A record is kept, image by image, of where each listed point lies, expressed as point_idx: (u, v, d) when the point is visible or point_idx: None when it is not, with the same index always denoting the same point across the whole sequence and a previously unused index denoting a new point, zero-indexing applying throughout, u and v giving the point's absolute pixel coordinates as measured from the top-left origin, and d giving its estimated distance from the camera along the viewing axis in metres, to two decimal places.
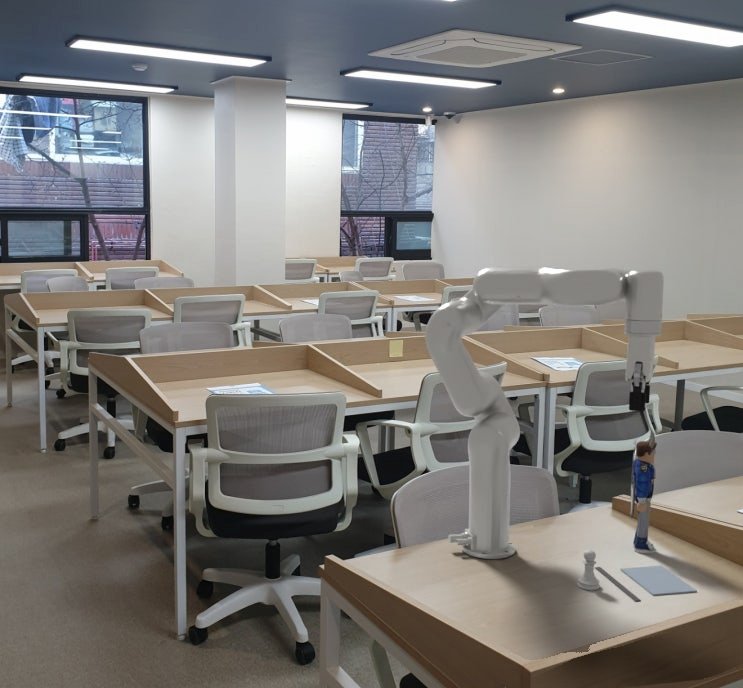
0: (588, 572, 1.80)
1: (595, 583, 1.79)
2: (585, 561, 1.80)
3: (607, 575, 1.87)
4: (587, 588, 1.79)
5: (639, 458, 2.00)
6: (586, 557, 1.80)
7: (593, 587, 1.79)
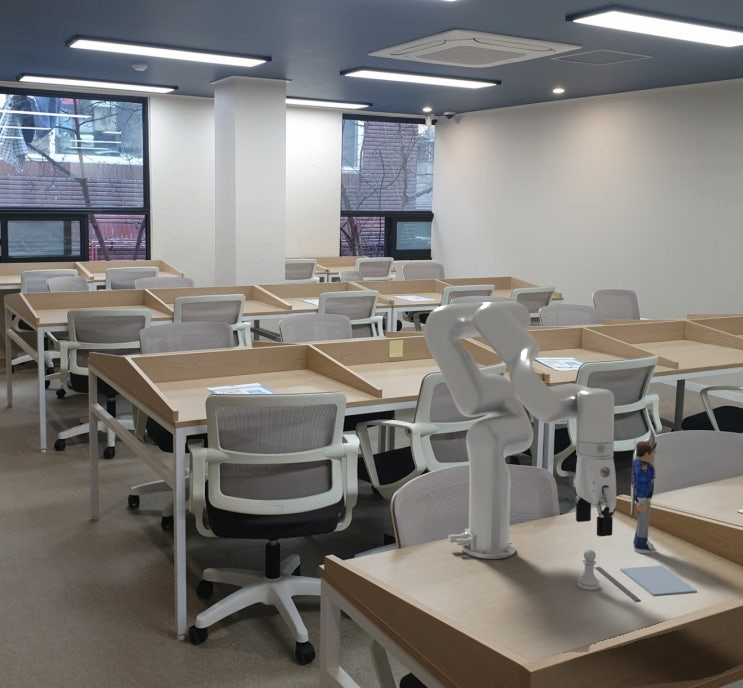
0: (588, 572, 1.80)
1: (595, 583, 1.79)
2: (585, 561, 1.80)
3: (607, 575, 1.87)
4: (587, 588, 1.79)
5: (639, 458, 2.00)
6: (586, 557, 1.80)
7: (593, 587, 1.79)
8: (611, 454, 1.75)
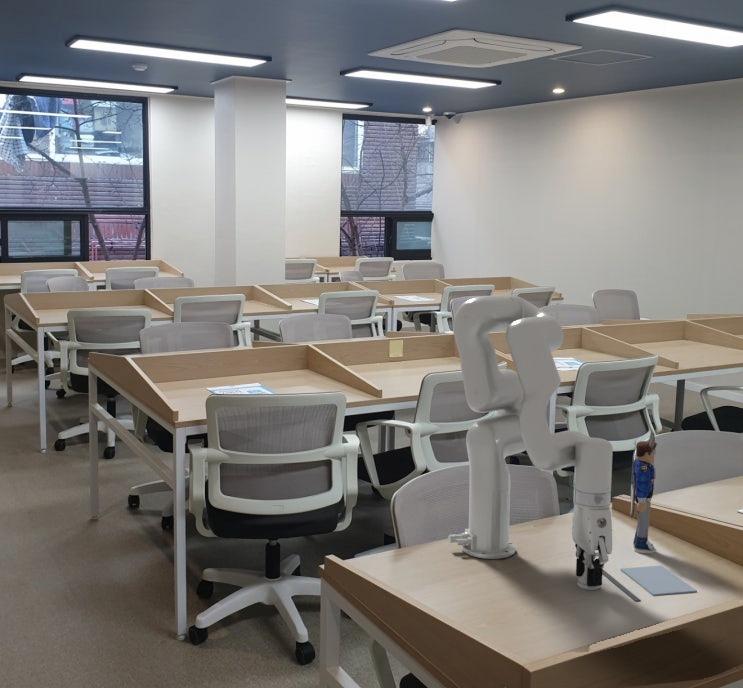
0: None
1: None
2: (585, 561, 1.80)
3: (607, 575, 1.87)
4: (587, 588, 1.79)
5: (639, 458, 2.00)
6: (586, 557, 1.80)
7: (593, 587, 1.79)
8: (608, 504, 1.77)
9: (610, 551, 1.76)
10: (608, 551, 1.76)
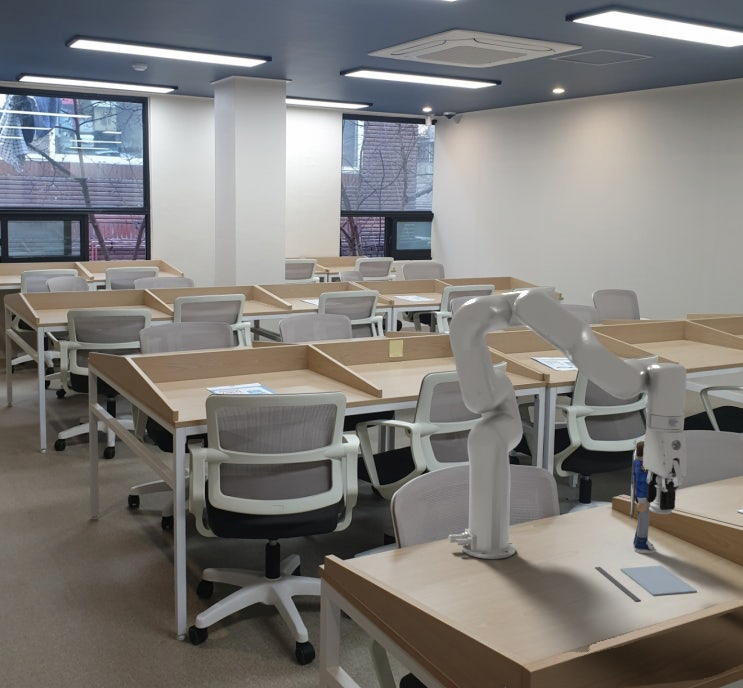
0: None
1: None
2: (657, 485, 1.82)
3: (607, 575, 1.87)
4: (660, 512, 1.80)
5: (639, 458, 2.00)
6: (659, 481, 1.81)
7: (666, 511, 1.80)
8: (682, 428, 1.78)
9: (684, 474, 1.77)
10: (682, 474, 1.77)
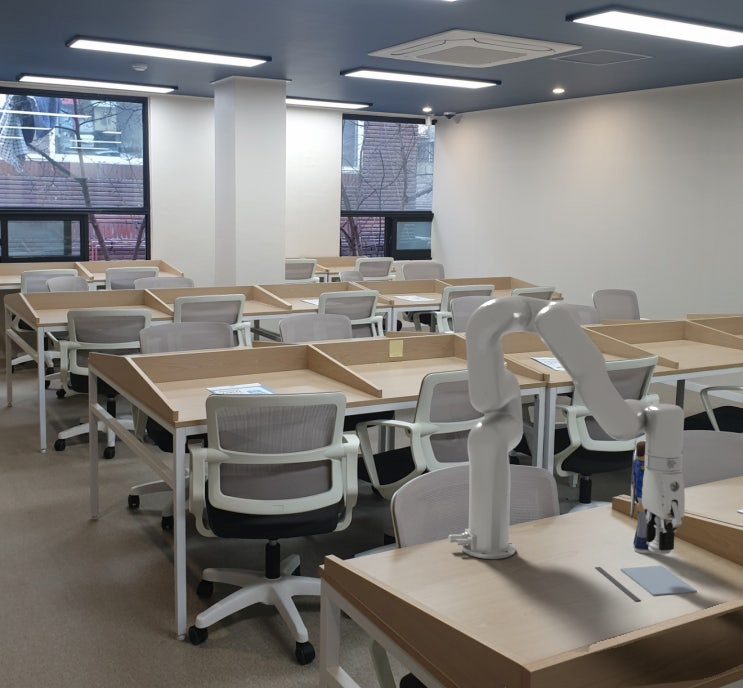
0: None
1: None
2: (656, 526, 1.83)
3: (607, 575, 1.87)
4: (659, 552, 1.81)
5: (639, 458, 2.00)
6: (658, 521, 1.82)
7: (665, 551, 1.81)
8: (680, 469, 1.79)
9: (683, 515, 1.78)
10: (681, 515, 1.78)
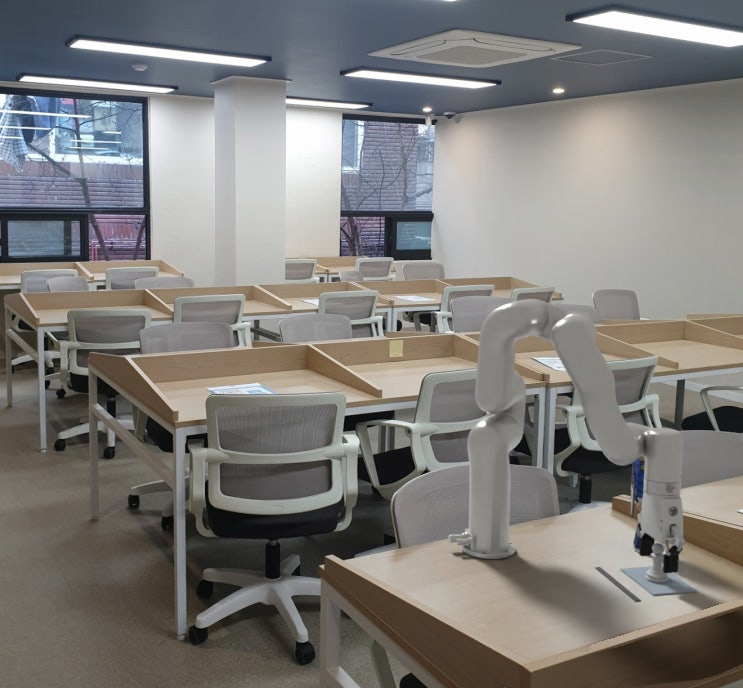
0: (656, 565, 1.83)
1: (664, 576, 1.83)
2: (653, 554, 1.84)
3: (607, 575, 1.87)
4: (656, 581, 1.82)
5: (639, 458, 2.00)
6: (655, 550, 1.83)
7: (662, 580, 1.82)
8: (679, 493, 1.80)
9: None
10: None
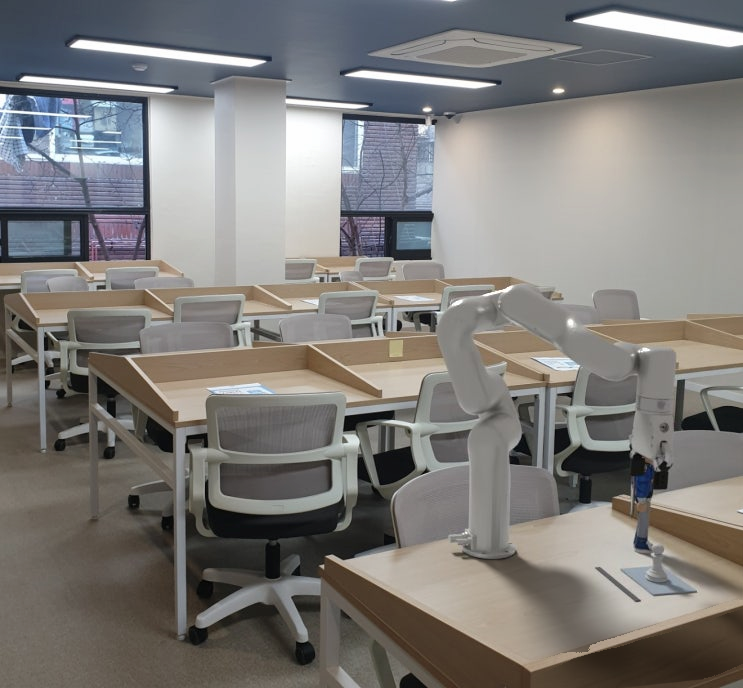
0: (656, 565, 1.83)
1: (664, 576, 1.83)
2: (653, 554, 1.84)
3: (607, 575, 1.87)
4: (656, 581, 1.82)
5: None
6: (655, 550, 1.83)
7: (662, 580, 1.82)
8: (670, 411, 1.79)
9: None
10: None
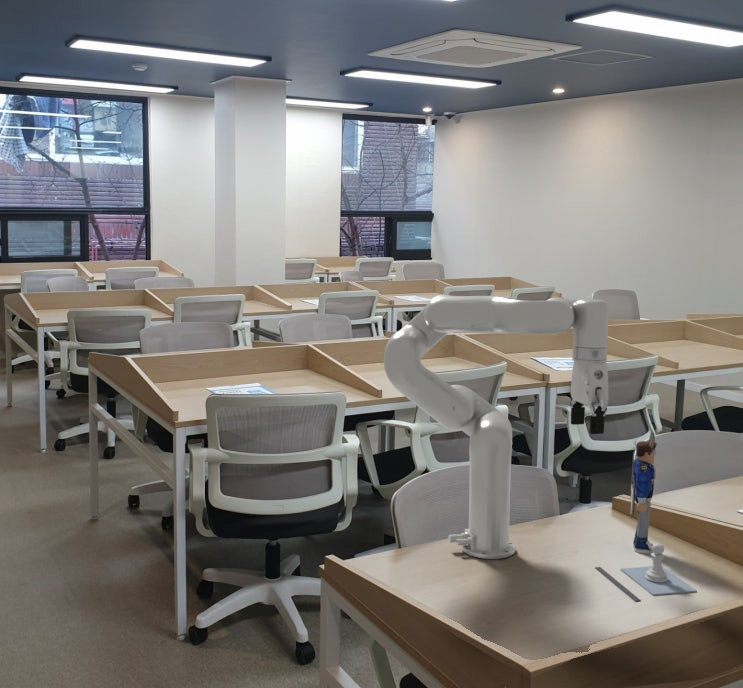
0: (656, 565, 1.83)
1: (664, 576, 1.83)
2: (653, 554, 1.84)
3: (607, 575, 1.87)
4: (656, 581, 1.82)
5: (639, 458, 2.00)
6: (655, 550, 1.83)
7: (662, 580, 1.82)
8: (604, 359, 1.90)
9: None
10: None
